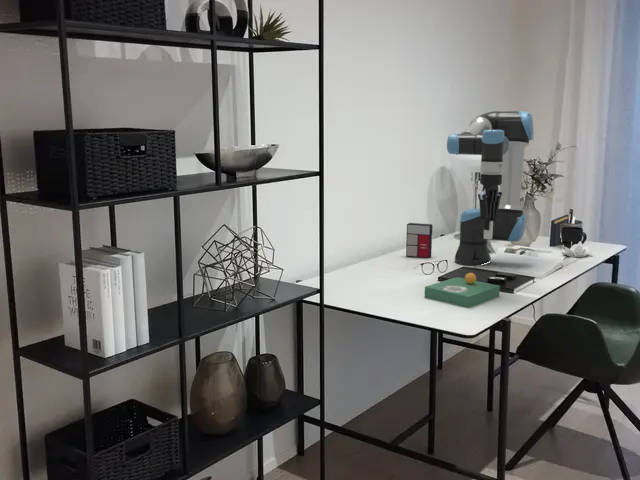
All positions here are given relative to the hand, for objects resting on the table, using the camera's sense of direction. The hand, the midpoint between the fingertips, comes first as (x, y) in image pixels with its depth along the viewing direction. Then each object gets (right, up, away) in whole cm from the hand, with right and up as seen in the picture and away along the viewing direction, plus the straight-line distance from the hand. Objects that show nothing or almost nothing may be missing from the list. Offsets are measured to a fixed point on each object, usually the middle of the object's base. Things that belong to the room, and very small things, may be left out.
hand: (487, 238), depth 240 cm
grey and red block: (-16, -8, +60) cm, 63 cm away
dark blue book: (+55, -4, +80) cm, 97 cm away
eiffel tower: (+14, -7, +69) cm, 71 cm away
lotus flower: (+52, -10, +53) cm, 75 cm away
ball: (-7, -14, -3) cm, 16 cm away
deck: (-10, -21, -5) cm, 24 cm away
